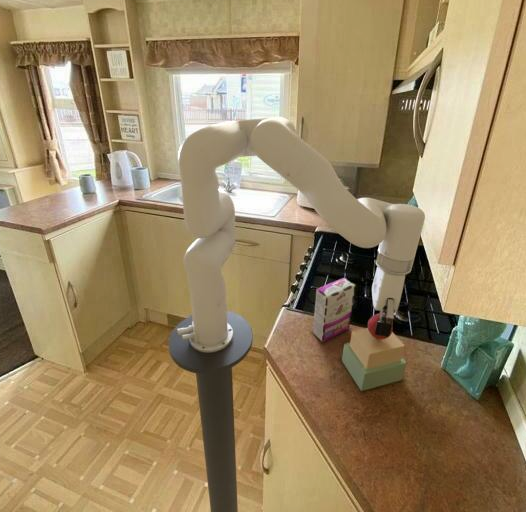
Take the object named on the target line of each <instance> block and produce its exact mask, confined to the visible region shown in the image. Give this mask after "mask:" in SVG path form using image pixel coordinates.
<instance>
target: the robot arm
mask: <svg viewBox="0 0 526 512" xmlns="http://www.w3.org/2000/svg"><path fill="white" fill-rule="evenodd" d="M241 157H242V158H243V157H257V158H258V159H259V160H261V161H262V162H263V163H264V164H266V165H267V166H268V167H269V168H270V169H271V170H273V171H274V172H275V173H277V174H278V175H279V176H281V177H282V178H283V179H284V180H285V181H286V182H288V183H289V184H290V185H292V187H294V188H295V189H296V190H297V191H299V193H301V194H302V195H303V197H304V198H305V200H306V202H307V203H308V204H309V205H310V206H311V207H312V208H313V209H314V210H315V212H316V213H317V215H318V216H319V217H320V218H321V219H322V220H323V221H324V222H325V223H326V224H327V225H328V226H329V227H330V228H331V229H333V230H334V231H335V232H336V233H337V234H339V236H341V237H342V238H344V240H346V241H348V242H349V243H351V244H352V245H354V246H356V247H358V248H362V249H371V248H375V247H377V246H378V249H377V254H376V259H375V265H376V266H377V267H376V269H375V273H374V277H373V282H372V285H371V297H372V305H371V308H372V309H374V310H375V311H379V313H380V315H379V319H378V320H377V324H376V328H375V334H376V335H380V336H386V337H389V335H390V332H391V328H392V325H393V324H394V319H395V313H397V312H398V310H399V307H400V303H401V298H402V296H403V295H402V294H403V289H404V286H405V285H404V284H405V281H406V280H405V279H406V275H408V274H410V273H411V271H412V268H413V265H414V262H415V257H416V253H417V250H418V246H419V242H420V240H421V235H422V231H423V229H424V228H423V227H424V224H425V219H426V215H425V212H424V211H423V210H422V208H420V207H417V206H415V205H413V204H407V203H390V202H387V201H383V200H380V199H377V198H372V197H359V198H356V197H355V195H353V194H352V193H351V192H350V191H349V190H348V189H347V188H346V186H345V185H344V184H343V183H342V181H341V180H340V178H339V176H338V175H337V173H336V171H335V168H334V167H333V166H332V164H331V163H330V161H329V160H328V159H327V158H326V157H324V156H323V155H322V154H321V153H320V152H318V151H317V150H316V149H315V148H313V147H312V146H311V145H310V144H309V143H307V142H306V141H305V140H303V138H301V137H300V136H299V135H298V133H297V129H296V126H295V125H294V124H293V122H291V120H289V119H288V118H286V117H284V116H270V117H261V118H260V117H259V118H252V119H251V118H249V119H240V120H230V121H225V122H221V123H215V124H211V125H207V126H205V127H203V128H200V129H198V130H196V131H194V132H192V133H191V134H190V135H188V136H187V137H186V138H185V139H184V140H183V142H182V143H181V144H180V147H179V150H178V155H177V163H178V164H177V165H178V172H179V177H180V185H181V198H182V208H183V220H184V224H185V228H186V230H187V232H188V233H189V234H190V236H192V237H193V238H196V239H195V240H194V241H193V242H192V243H191V245H189V247H188V248H187V250H186V251H185V253H184V255H183V260H182V261H183V262H182V263H183V264H182V265H183V268H184V272H185V275H186V276H187V281H188V286H189V296H190V303H191V316H192V315H193V321H192V325H191V326H189V327H187V328H180V329H177V330H178V336H180V335H182V338H183V340H186V339H189V340H190V344H191V346H192V347H193V348H194V349H196V350H198V351H200V352H206V353H210V352H216V351H219V350H222V349H224V348H225V347H226V346H228V345H229V344H230V342H231V341H232V338H233V329H232V327H231V326H230V325H229V324H228V323H227V311H228V307H227V289H226V287H227V286H226V280H225V277H224V275H223V267H224V264H225V263H226V262H227V260H228V259H229V258H230V256H231V255H232V253H233V252H234V249H235V247H236V241H237V240H236V238H237V237H236V209H235V204H234V201H233V199H232V197H231V195H229V194H228V193H227V192H226V191H225V190H222V189H220V184H219V183H220V182H219V177H218V174H217V172H216V170H217V168H220V167H222V166H225V165H228V164H230V163H231V162H234V161H235V160H237V159H238V158H241ZM383 313H385V315H386V317H383ZM188 333H190V334H188ZM184 334H186V335H184Z"/></svg>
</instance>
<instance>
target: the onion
mask: <svg viewBox="0 0 526 512" xmlns="http://www.w3.org/2000/svg"><path fill="white" fill-rule="evenodd" d="M379 315H380V312H379V313H376V314H373V315H372V316H371V317H370V318H369V319H368V321H367V328H368V330H369V332H370V334H371V335H372V336H373V337H375V338H376V339H386V338H388V337H386V336H380V335H376V334H375V328H376V324H377V320H378V319H379ZM383 317H386V312H383ZM393 326H394V325H393V324H392V328H391V332H390V335H391V334H392V332H393V329H394V327H393ZM390 335H389V336H390Z"/></svg>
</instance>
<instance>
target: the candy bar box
mask: <svg viewBox="0 0 526 512" xmlns="http://www.w3.org/2000/svg"><path fill="white" fill-rule="evenodd" d="M355 291H356V284H355V283H353V282H351V281H350V280H348V279H347V278H345V277H342V278H340V279H338V280H335V281H333V282H330V283H328V284H326V285H323V286H320V287H318V288H316V290H315V292H316V293H315V301H314V313H313V314H314V315H313V325H312V334H313V335H314V336H315V337H317V338H318V339H319V341H320V342H321V343H325V342H326V341H328V340H330V339H332V338H333V337H335V336H337V335H340V334H342V333H343V332H346V331H348V330H349V329H350V324H351V318H352V311H353V303H354V297H355Z"/></svg>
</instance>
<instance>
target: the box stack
mask: <svg viewBox="0 0 526 512" xmlns="http://www.w3.org/2000/svg"><path fill="white" fill-rule="evenodd" d="M349 341H350V342H346V343H344V344H343V350H342V351H343V352H342V356H341V362H342V363H343V365H344V367H345V368H346V369H347V371H348V372H349V374H350V377H352V379H353V381H354V382H355V384H356V385H357V387H358V388H359V390H360V391H361V392H363V391H367V390H370V389H374V388H377V387H382V386H385V385H388V384H389V385H390V384H393V383H396V382H399V381H403V378H404V375H405V370H406V367H407V364H408V362H407V361H406V360H405V359H404V358H403V354H404V350H405V348H406V347H405V346H406V345H405V344H404V343H403V342H402V340H400V338H398V336H397V335H396V334H395V333H394V332H393V331H392V334H391V335H390V336H389V337H388V338H386V339H376V338H375V337H373V336H372V335H371V334H370V332H369V330H368V327H365V328H361V329H356V330H352V331H351V335H350V340H349Z"/></svg>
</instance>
